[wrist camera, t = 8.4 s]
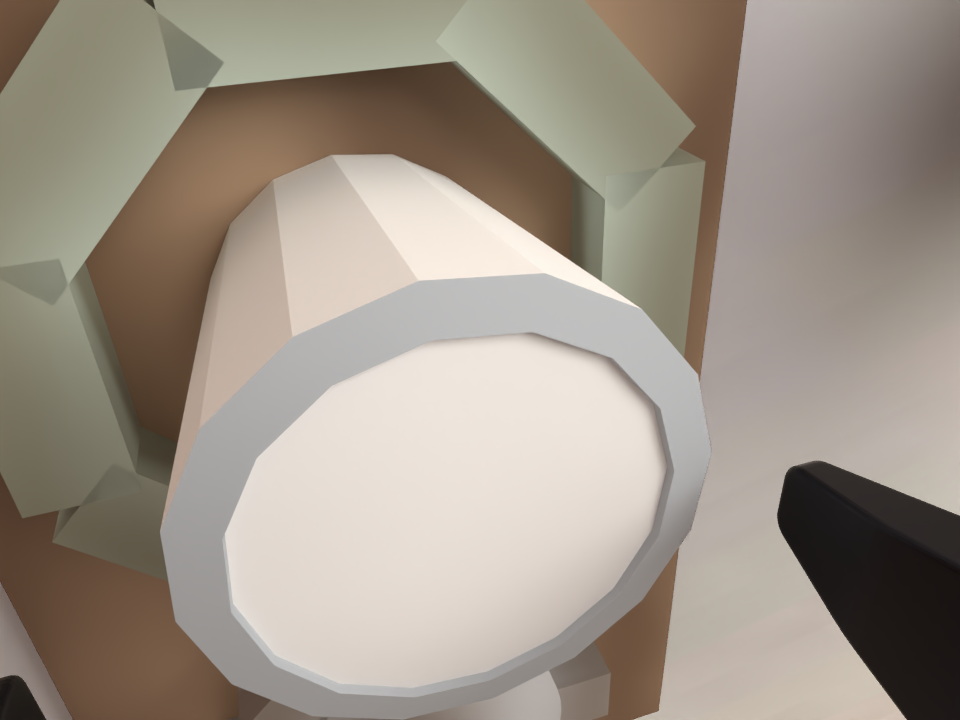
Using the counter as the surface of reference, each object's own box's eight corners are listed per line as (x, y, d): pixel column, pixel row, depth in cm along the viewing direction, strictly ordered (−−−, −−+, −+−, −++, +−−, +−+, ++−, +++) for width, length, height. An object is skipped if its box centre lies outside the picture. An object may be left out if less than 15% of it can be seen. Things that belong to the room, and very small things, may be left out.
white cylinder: (114, 161, 13) (47, 379, 7) (511, 82, 14) (734, 208, 8) (235, 478, 16) (257, 793, 10) (539, 391, 18) (705, 629, 12)
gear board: (726, -141, 14) (883, -153, 11) (641, 681, 27) (703, 789, 24) (-302, -92, 11) (-530, -89, 7) (158, 837, 23) (152, 991, 20)
